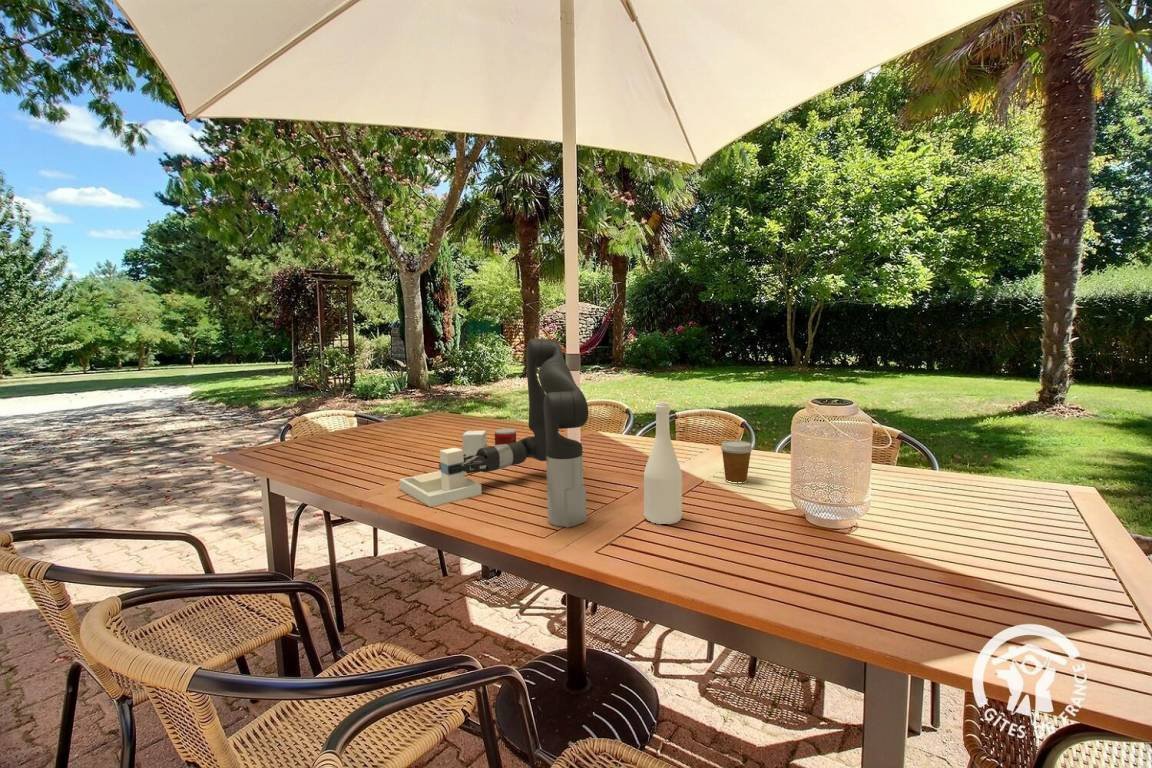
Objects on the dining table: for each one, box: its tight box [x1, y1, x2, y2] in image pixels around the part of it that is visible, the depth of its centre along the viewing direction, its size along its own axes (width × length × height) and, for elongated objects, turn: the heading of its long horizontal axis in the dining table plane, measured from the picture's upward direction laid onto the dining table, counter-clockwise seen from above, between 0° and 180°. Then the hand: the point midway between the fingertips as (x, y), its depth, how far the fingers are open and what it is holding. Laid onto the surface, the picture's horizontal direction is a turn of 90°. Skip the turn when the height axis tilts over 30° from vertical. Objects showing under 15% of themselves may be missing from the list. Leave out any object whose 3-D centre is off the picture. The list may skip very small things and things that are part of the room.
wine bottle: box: [643, 401, 683, 525], centre depth 134 cm, size 10×10×30 cm
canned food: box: [494, 428, 517, 446], centre depth 198 cm, size 8×8×11 cm
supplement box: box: [461, 430, 488, 456], centre depth 188 cm, size 7×7×13 cm
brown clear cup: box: [720, 439, 753, 483], centre depth 165 cm, size 10×10×12 cm
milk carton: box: [439, 447, 466, 492], centre depth 155 cm, size 5×5×12 cm
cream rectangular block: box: [411, 471, 442, 493], centre depth 162 cm, size 7×10×4 cm
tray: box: [398, 470, 483, 508], centre depth 159 cm, size 22×16×4 cm
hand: (444, 468), depth 154 cm, fingers closed on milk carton, 5 cm apart
